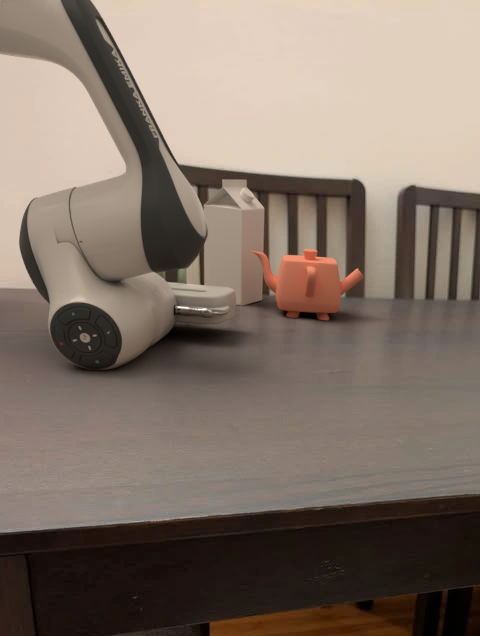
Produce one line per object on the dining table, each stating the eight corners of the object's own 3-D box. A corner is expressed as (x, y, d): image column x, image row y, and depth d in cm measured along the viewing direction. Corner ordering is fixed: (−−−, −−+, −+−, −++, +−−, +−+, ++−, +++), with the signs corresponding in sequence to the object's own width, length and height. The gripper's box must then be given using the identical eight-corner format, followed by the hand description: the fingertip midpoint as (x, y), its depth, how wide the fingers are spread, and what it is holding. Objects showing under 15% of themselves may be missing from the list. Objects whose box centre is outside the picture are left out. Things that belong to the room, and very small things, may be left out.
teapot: (315, 304, 126) (318, 243, 122) (364, 318, 119) (369, 253, 114) (249, 311, 116) (250, 245, 112) (298, 326, 109) (301, 256, 105)
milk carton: (203, 300, 121) (203, 177, 113) (226, 295, 127) (227, 177, 119) (241, 307, 119) (242, 181, 111) (262, 301, 125) (265, 181, 117)
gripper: (224, 288, 85) (246, 271, 97) (49, 273, 85) (94, 258, 97) (224, 341, 87) (246, 318, 100) (54, 327, 87) (97, 305, 100)
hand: (170, 288), depth 99 cm, fingers closed
